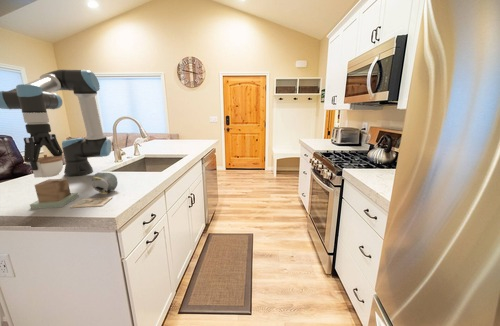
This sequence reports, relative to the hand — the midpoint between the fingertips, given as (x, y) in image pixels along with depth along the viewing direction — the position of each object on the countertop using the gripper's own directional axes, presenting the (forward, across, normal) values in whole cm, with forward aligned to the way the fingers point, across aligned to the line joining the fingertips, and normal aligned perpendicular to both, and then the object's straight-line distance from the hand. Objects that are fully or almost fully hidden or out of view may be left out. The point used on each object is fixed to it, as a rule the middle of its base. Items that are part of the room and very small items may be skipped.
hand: (49, 173), depth 96 cm
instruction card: (+14, +3, +17) cm, 22 cm away
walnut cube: (+12, 0, 0) cm, 12 cm away
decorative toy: (+14, -9, +17) cm, 24 cm away
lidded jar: (+1, 0, 0) cm, 1 cm away
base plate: (+14, 0, 0) cm, 14 cm away
